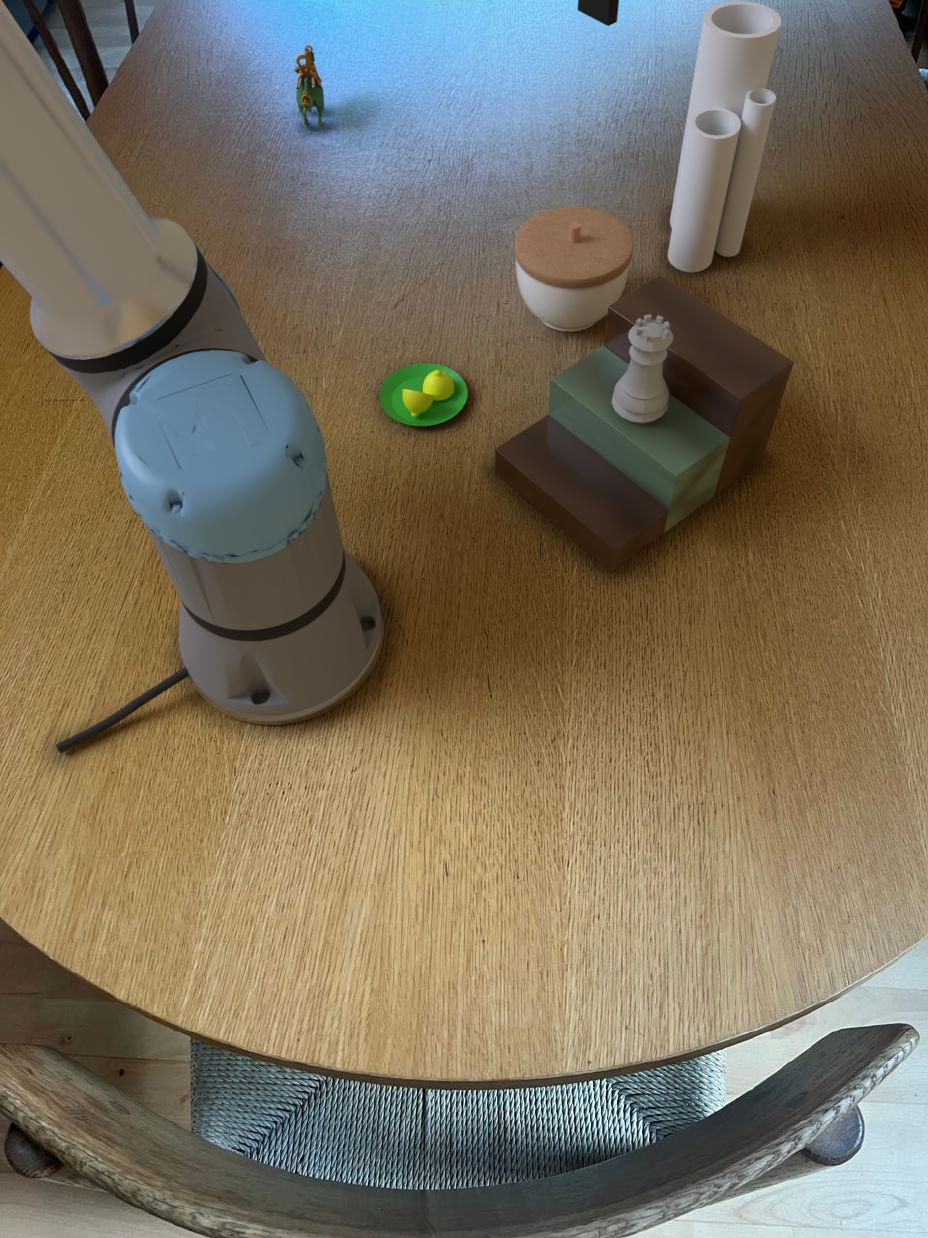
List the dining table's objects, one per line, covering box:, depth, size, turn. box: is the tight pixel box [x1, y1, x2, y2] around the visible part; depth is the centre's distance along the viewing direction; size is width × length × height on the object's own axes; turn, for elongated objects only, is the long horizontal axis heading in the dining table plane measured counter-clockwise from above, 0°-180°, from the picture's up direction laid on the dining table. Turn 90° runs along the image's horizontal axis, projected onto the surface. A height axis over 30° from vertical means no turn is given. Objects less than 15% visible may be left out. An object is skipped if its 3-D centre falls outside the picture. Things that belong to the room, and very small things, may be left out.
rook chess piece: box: [612, 314, 673, 424], centre depth 74 cm, size 4×4×8 cm
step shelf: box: [494, 274, 795, 574], centre depth 79 cm, size 18×14×11 cm
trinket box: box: [514, 205, 634, 333], centre depth 91 cm, size 11×11×9 cm
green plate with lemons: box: [378, 362, 468, 427], centre depth 88 cm, size 8×8×3 cm
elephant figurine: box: [294, 44, 326, 130], centre depth 110 cm, size 3×12×8 cm, turn 2°
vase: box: [667, 0, 782, 273], centre depth 92 cm, size 11×7×20 cm, turn 172°
